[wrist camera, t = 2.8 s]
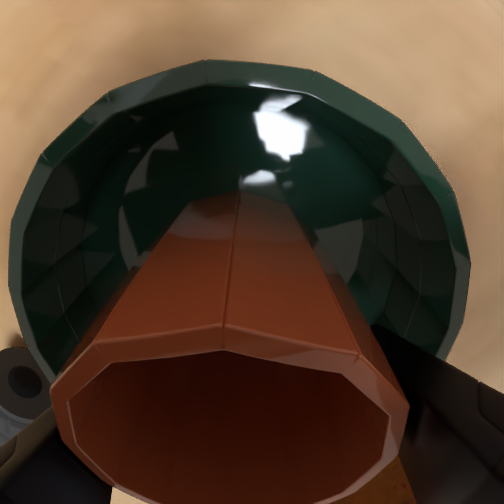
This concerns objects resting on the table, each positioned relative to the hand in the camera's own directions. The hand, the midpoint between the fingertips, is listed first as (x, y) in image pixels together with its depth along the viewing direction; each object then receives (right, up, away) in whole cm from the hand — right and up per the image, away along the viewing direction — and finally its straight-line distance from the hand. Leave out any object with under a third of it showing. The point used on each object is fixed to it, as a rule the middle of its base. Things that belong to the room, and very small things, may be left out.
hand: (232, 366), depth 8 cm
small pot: (0, +2, +5) cm, 5 cm away
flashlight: (-16, -9, +10) cm, 21 cm away
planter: (0, +2, +5) cm, 6 cm away
